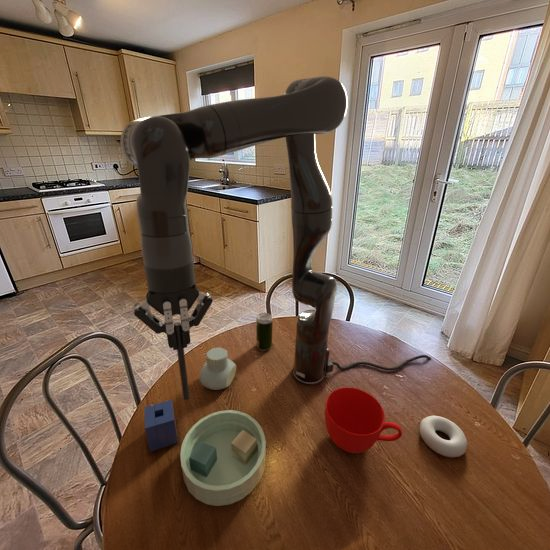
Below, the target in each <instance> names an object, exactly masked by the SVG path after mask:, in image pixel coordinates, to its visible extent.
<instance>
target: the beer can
mask: <svg viewBox="0 0 550 550" xmlns="http://www.w3.org/2000/svg"><path fill="white" fill-rule="evenodd" d="M273 321H274V319H273V316H272V314H271V313H268V312H259V313H258V314H257V315H256V322H255V323H256V324H255V325H256V329H255V330H256V331H255V332H256V333H255V335H256V339H255V340H256V341H255V343H256V344H255V345H256V348H257V349H258V350H259V351H262V352H266V351H269V350H271V348H272V347H273Z"/></svg>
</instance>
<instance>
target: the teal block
mask: <svg viewBox="0 0 550 550" xmlns="http://www.w3.org/2000/svg"><path fill="white" fill-rule="evenodd" d="M189 460H190V467H191V470H193V471H195V472H197V473H199V474H201V475H203V476H205V477H207V476H208V474H209V473H210V471H211V469H212V468H213V466H214V464H215V463H216V461H217V453H216V448H215V447H213V446H211V445H208V444H206V443H204V442H202V441H200V442H199V444H198V445H197V447H196V448H195V450H194V451H193V452H192V454H191V455H190V457H189Z"/></svg>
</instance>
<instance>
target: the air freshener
mask: <svg viewBox="0 0 550 550" xmlns="http://www.w3.org/2000/svg"><path fill="white" fill-rule="evenodd" d="M205 359H206V361H205V363H204V364H203V366H202V367H201V369H200V371H199V375H198V381H199V382H200V383H201V385H202V386H203V387H205V388H206V389H208V390H214V391H219V390H224V389H227V388H228V387H229V386H230V385H231V384H232V382H233V380H234V378H235V376H236V373H237V365H236V363H235V362H234V361H233V360H232V359H230V358H229V356H228V350H227V349H225V348H223V347H213V348H211V349H209V350H208V351H207V352H206V354H205Z"/></svg>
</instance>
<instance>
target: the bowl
mask: <svg viewBox="0 0 550 550" xmlns="http://www.w3.org/2000/svg"><path fill="white" fill-rule="evenodd" d="M242 430H244V431H246V432H247V433H249V434H250V435H252V436H253V437H255V438H256V439H257V451H256V452H255V454H254V455H253V456H252V458H251V459H250V460H249V461H248V463H247V464H246V465H245V464H243V463H242V462H241V461H239V460H238V459H237V458H235V457H234V456H233V455H232V449H231V443H232V441H233V440H234V439H235V438H236V437H237V436H238V435H239V434H240V432H241V431H242ZM200 441H202V442H204V443H206V444H208V445H211V446H213V447H215V448H216V453H217V461H216V463H215V464H214V466H213V468H212V469H211V471H210V473H209V474H208V476H207V477H205V476H203V475H201V474H199V473H197V472H195V471H193V470H191V467H190V460H189V457H190V455H191V454H192V452H193V451H194V450H195V448H196V447H197V445H198V444H199V442H200ZM266 452H267V443H266V435H265V432H264V430H263V427H262V426H261V424H259V423H258V421H257V420H256V419H255V418H253V417H252V416H251V415H249V414H248V413H245V412H242V411H239V410H233V409H228V410H227V409H226V410H218V411H214V412H212V413H210V414H208V415H206V416H203V417H202V418H200V419H199V420H197V422H196V423H195V424H193V425H192V426H191V427H190V429H189V430H188V432H187V433H186V435H185V436H184V438H183V441H182V443H181V447H180V454H179V457H180V467H181V471H182V478H183V482H184V484H185V487H186V488H187V491H188V492H189V493H190V494H191V496H193V497H194V499H196V500H198V501H199V502H202V503H203V504H205V505H209V506H214V507H221V506H229V505H232V504H235V503H237V502H239V501H242V500H243V499H244V498H246V497H247V496H248V495H250V494H251V493H252V492H253V491H254V490H255V488H256V487H257V486H258V484H259V482H260V481H261V479H262V477H263V474H264V472H265V467H266V462H267V461H266V460H267V459H266V458H267V453H266Z"/></svg>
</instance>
